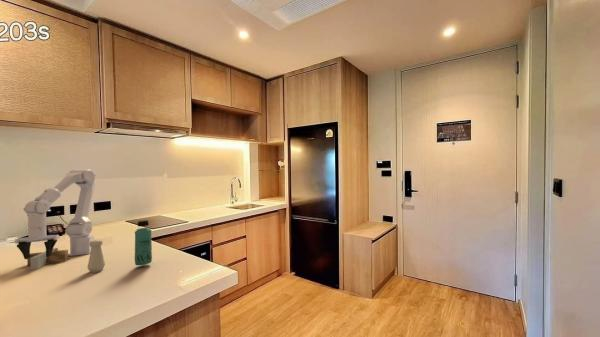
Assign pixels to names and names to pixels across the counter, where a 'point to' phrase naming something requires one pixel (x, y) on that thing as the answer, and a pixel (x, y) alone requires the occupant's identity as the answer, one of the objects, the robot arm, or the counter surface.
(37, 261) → the grey rectangular bar
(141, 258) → the beverage bottle
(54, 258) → the brown flat bar
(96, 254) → the salt shaker
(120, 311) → the counter surface
